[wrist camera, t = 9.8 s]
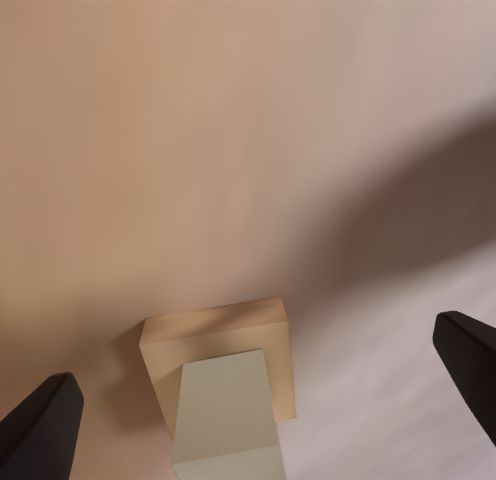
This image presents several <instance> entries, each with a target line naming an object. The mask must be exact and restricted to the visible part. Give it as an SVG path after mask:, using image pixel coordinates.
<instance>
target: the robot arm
mask: <svg viewBox="0 0 496 480" xmlns="http://www.w3.org/2000/svg"><path fill="white" fill-rule="evenodd" d="M433 344H434V347H435V349H436V351H437V352H438V354H439V356H440V358H441V360H442V361H443V363H444V365H445V367H446V369H447V370H448V372H449V374H450V376H451V378H452V379H453V381H454V383H455V385H456V387H457V388H458V390H459V392H460V394H461V395H462V397H463V399H464V401H465V402H466V404H467V405H468V407H469V408H470V410H471V412H472V413H473V415H474V416H475V417H476V419H477V420H478V422H479V423H480V425H481V426H482V428H483V429H484V431H485V432H486V433H487V435H488V436H489V438H490V439H491V441H492V442H493V444H494V445H495V447H496V328H494V327H492V326H490V325H487V324H485V323H483V322H481V321H478V320H476V319H474V318H471V317H469V316H467V315H465V314H462V313H460V312H458V311H447V312H441V313H439V314H438V315H437V317H436V321H435V327H434V332H433ZM83 405H84V398H83V394H82V392H81V390H80V388H79V386H78V383H77V381H76V379H75V377H74V375H73V374H72V373H70V372H64V373H58V374H53V375H51V376H50V377H49V378H47V379H46V380H45V381H44V382H43V383H42V384H41V385H40V386H39V387H38V388H36V389H35V390H34V391H33V392H32V393H31V394H30V395H29V396H28V397H27V398H25V399H24V400H23V401H22V402H21V403H20V404H19V405H18V406H17V407H16V408H14V409H13V410H12V411H11V412H10V413H9V414H8V415H7V416H6V417H5V418H3V419H2V420H1V421H0V480H69V477H70V473H71V468H72V463H73V458H74V453H75V448H76V442H77V437H78V432H79V426H80V421H81V416H82V410H83Z"/></svg>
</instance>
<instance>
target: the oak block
mask: <svg viewBox="0 0 496 480" xmlns="http://www.w3.org/2000/svg"><path fill="white" fill-rule="evenodd" d="M139 348H140V351H141V353H142V356H143V359H144V362H145V365H146V368H147V371H148V373H149V376H150V379H151V382H152V385H153V388H154V391H155V394H156V396H157V399H158V402H159V405H160V408H161V411H162V414H163V417H164V419H165V422H166V425H167V428H168V431H169V434H170V437H171V439H172V440H174V439H175V430H176V422H177V414H178V405H179V397H180V388H181V380H182V371H183V364H185V363H191V362H196V361H201V360H207V359H212V358H218V357H223V356H228V355H234V354H239V353H244V352H250V351H255V350H261V349H263V352H264V357H265V362H266V367H267V372H268V377H269V383H270V388H271V393H272V398H273V403H274V409H275V415H276V420H277V422H278V421H283V420H289V419H295V418H296V409H295V396H294V383H293V370H292V357H291V344H290V331H289V320H288V317H287V314H286V311H285V308H284V305H283V302H282V299H281V297H275V298H268V299H262V300H256V301H250V302H244V303H237V304H231V305H225V306H219V307H213V308H206V309H200V310H194V311H188V312H182V313H175V314H169V315H163V316H157V317H151V318H146V319H145V323H144V327H143V331H142V335H141V339H140V343H139Z"/></svg>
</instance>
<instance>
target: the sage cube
mask: <svg viewBox="0 0 496 480" xmlns="http://www.w3.org/2000/svg"><path fill="white" fill-rule="evenodd" d="M171 465H172V467H173V469H174V471H175V474H176V476H177V478H178V480H287V479H286V474H285V468H284V462H283V456H282V450H281V444H280V438H279V432H278V426H277V420H276V415H275V409H274V403H273V398H272V393H271V388H270V383H269V377H268V372H267V367H266V362H265V357H264V352H263V349H261V350H255V351H250V352H244V353H239V354H234V355H228V356H223V357H218V358H212V359H207V360H201V361H196V362H191V363H185V364H183V371H182V380H181V388H180V397H179V405H178V414H177V422H176V430H175V439H174V447H173V456H172V464H171Z"/></svg>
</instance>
